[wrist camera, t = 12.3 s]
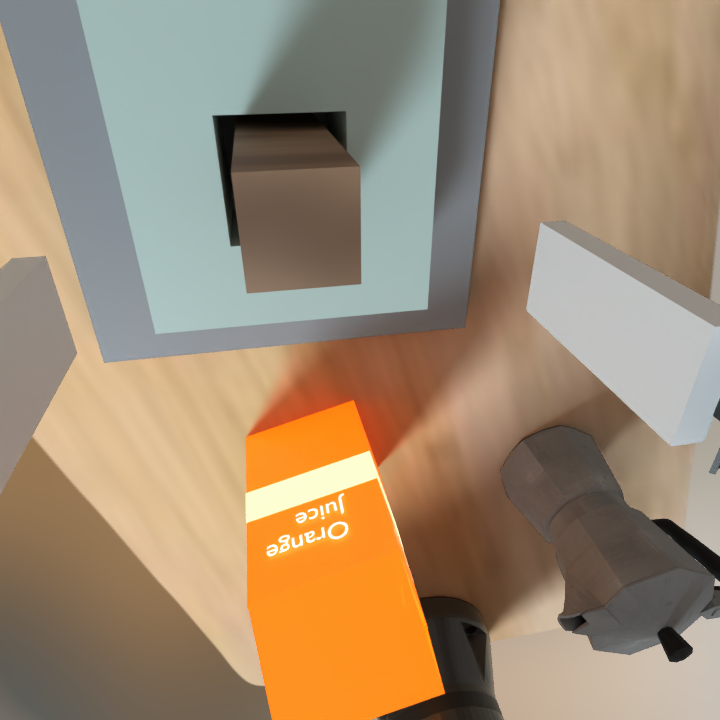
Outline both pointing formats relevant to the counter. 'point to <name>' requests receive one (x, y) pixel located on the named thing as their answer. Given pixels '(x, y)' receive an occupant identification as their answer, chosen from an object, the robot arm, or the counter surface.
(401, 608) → the orange juice
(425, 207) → the socket block
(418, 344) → the counter surface
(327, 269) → the peg
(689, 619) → the coffeepot
